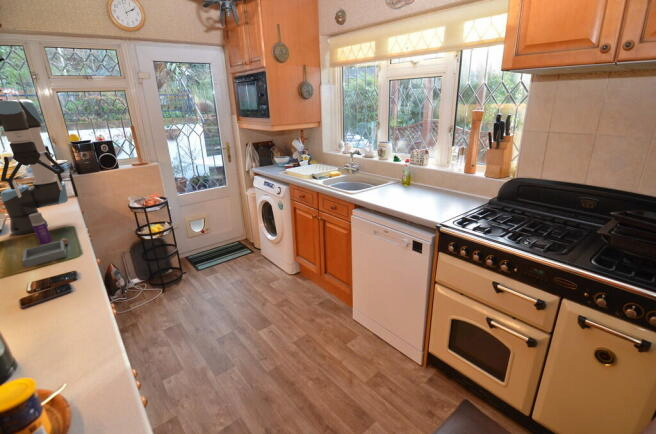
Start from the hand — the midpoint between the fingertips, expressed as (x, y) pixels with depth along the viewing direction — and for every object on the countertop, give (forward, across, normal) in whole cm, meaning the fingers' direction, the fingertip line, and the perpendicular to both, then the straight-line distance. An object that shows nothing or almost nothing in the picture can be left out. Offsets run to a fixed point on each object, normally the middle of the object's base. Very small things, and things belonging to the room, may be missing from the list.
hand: (41, 193), depth 139 cm
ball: (+28, +1, +10) cm, 30 cm away
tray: (+28, -6, +1) cm, 29 cm away
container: (+28, -6, +19) cm, 35 cm away
